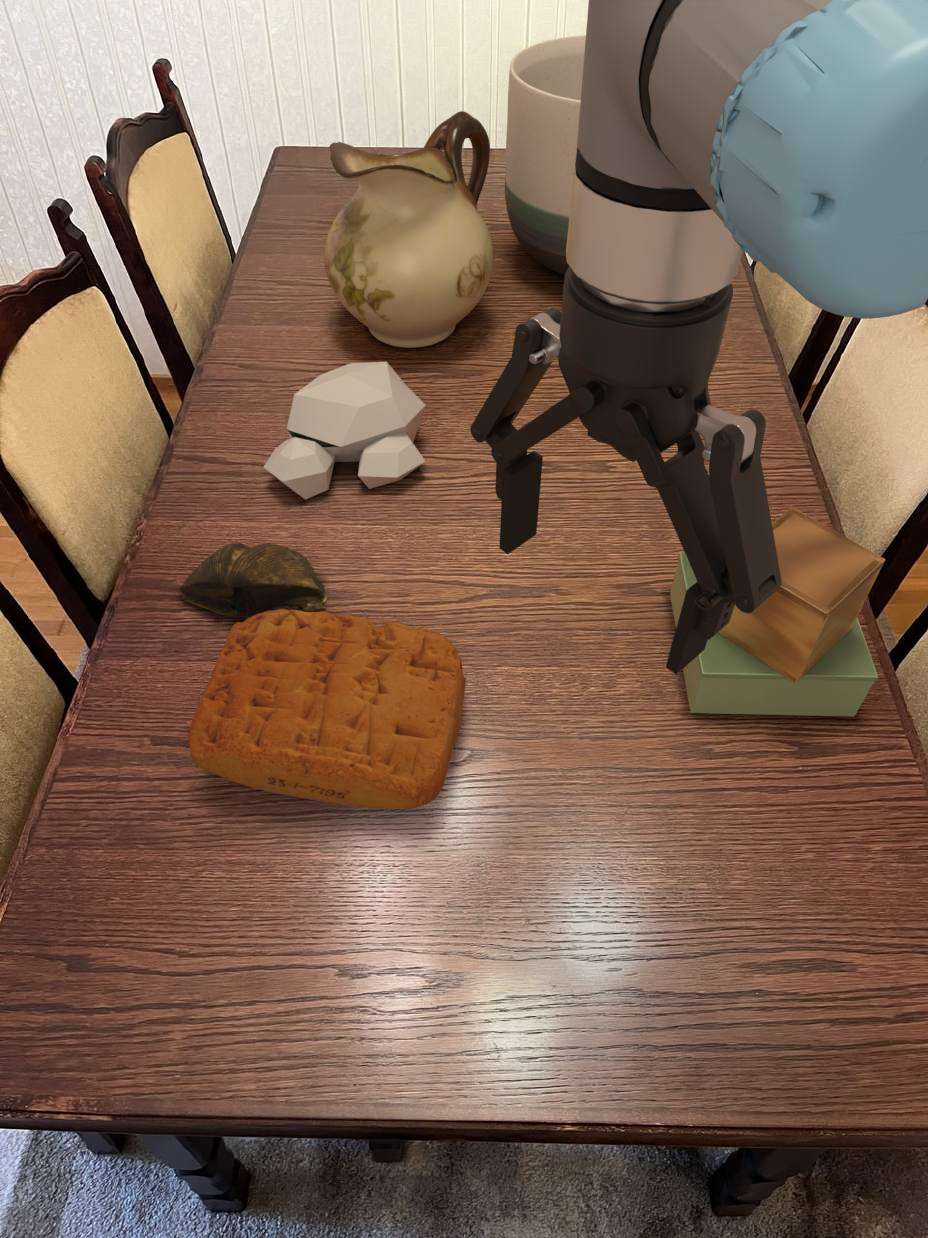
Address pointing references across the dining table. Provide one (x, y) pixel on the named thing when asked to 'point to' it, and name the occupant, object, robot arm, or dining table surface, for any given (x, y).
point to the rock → (349, 429)
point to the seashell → (254, 581)
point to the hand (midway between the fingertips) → (596, 597)
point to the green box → (772, 673)
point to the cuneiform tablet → (332, 709)
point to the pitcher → (412, 236)
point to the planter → (543, 145)
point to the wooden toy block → (806, 596)
